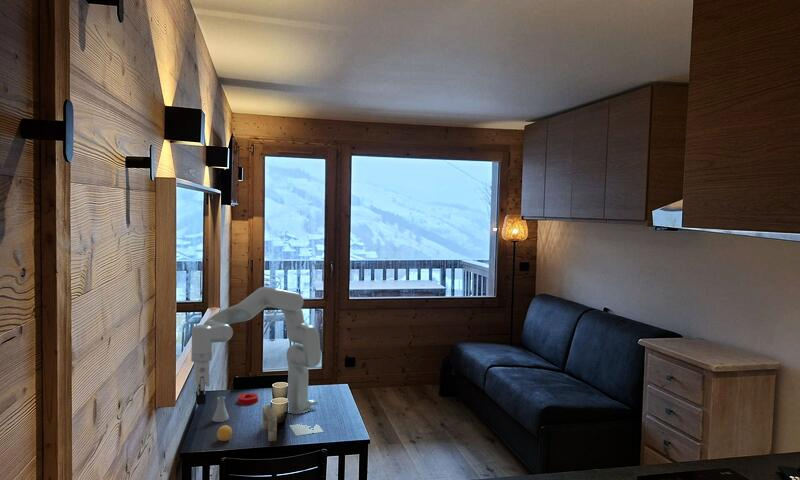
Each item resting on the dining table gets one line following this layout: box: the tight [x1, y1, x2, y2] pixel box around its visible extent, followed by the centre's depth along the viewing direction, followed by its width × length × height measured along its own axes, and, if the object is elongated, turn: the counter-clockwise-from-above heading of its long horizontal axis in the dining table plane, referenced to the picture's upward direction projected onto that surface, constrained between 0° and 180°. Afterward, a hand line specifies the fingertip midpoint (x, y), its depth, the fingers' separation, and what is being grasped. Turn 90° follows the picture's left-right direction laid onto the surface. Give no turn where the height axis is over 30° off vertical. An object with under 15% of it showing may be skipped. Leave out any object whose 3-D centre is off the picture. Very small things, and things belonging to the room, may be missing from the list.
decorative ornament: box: [237, 392, 259, 406], centre depth 258 cm, size 10×10×3 cm
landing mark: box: [288, 423, 324, 437], centre depth 226 cm, size 12×12×1 cm
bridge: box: [261, 404, 278, 442], centre depth 219 cm, size 3×15×10 cm, turn 25°
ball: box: [216, 424, 233, 442], centre depth 212 cm, size 6×6×6 cm
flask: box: [211, 396, 230, 423], centre depth 234 cm, size 7×7×10 cm
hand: (200, 402), depth 206 cm, fingers open, 3 cm apart
